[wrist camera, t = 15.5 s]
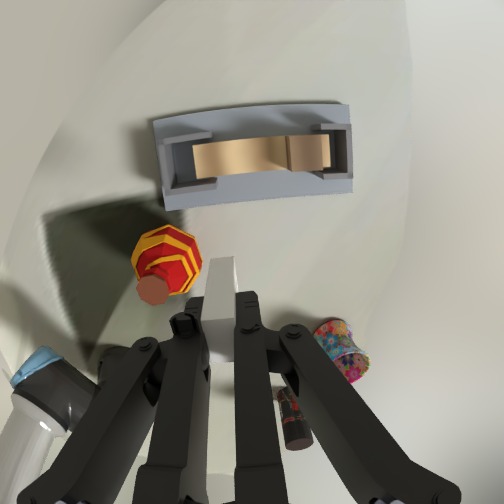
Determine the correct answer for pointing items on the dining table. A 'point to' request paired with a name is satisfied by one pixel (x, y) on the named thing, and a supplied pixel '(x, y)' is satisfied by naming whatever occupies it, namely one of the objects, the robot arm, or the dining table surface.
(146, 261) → the potion bottle
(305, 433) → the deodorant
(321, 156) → the tan stepped wooden block
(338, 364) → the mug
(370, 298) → the dining table surface
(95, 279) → the dining table surface
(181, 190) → the grey slat holder base
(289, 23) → the dining table surface
